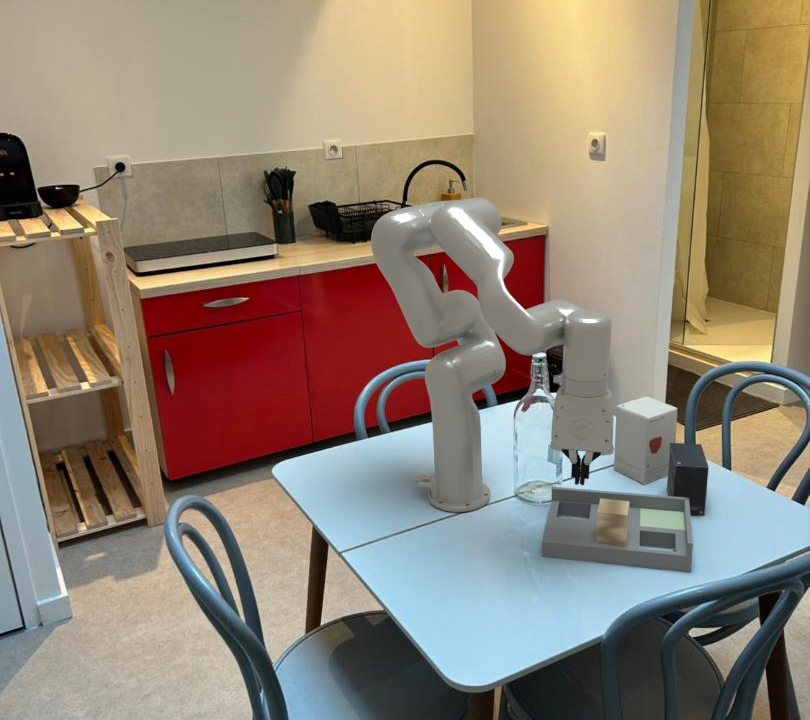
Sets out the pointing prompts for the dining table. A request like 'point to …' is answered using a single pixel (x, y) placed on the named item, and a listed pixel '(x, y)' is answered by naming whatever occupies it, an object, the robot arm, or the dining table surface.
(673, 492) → the small box
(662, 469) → the supplement box
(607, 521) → the beech block
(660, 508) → the tray
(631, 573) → the dining table surface
